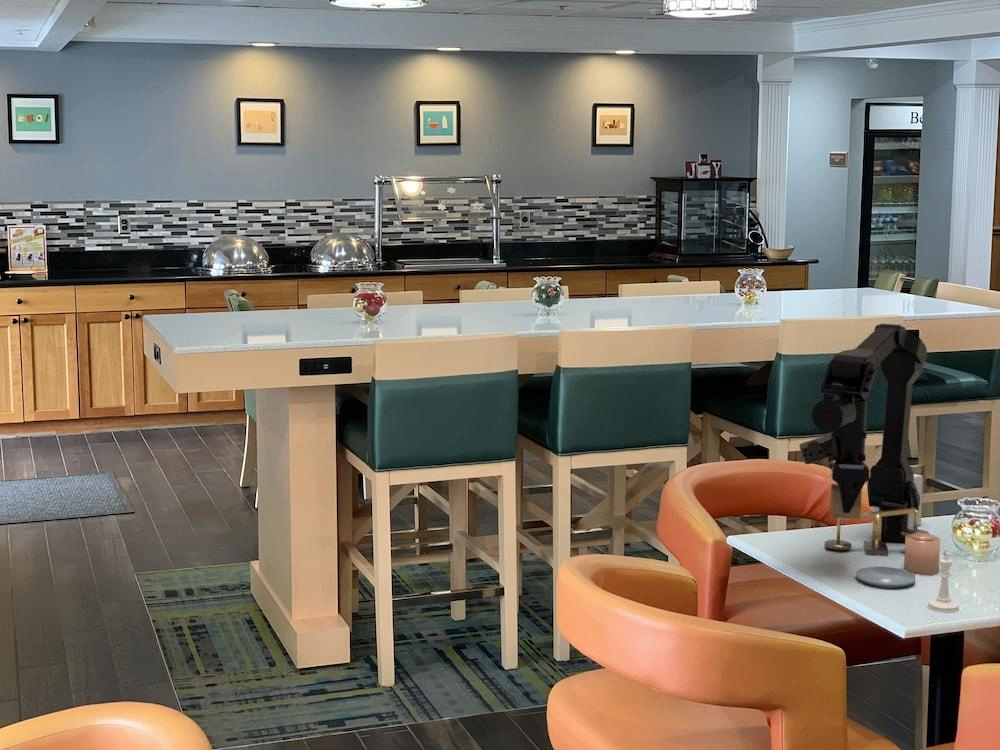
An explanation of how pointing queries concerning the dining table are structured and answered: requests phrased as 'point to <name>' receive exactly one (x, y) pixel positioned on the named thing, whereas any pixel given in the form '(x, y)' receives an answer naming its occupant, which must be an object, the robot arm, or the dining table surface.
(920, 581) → the dining table surface
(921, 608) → the dining table surface
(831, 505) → the walnut block
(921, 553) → the terracotta lidded jar
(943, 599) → the chess piece
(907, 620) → the dining table surface
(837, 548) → the balance
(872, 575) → the disc
